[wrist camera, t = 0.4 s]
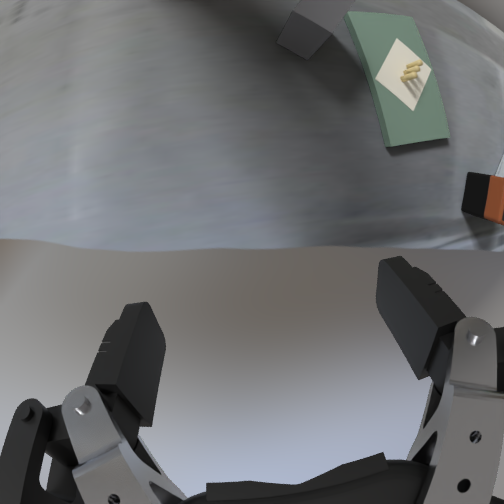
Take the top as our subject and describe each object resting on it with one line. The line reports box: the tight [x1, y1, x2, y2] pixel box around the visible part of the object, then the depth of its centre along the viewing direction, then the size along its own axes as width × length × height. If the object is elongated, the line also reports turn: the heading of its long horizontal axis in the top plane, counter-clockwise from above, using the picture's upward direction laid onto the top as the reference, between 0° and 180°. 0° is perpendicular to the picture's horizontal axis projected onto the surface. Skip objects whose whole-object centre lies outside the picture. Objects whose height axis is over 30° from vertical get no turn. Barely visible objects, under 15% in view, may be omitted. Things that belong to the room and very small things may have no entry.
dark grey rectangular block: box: [276, 0, 355, 60], centre depth 24 cm, size 6×4×9 cm
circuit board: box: [344, 11, 450, 147], centre depth 29 cm, size 20×12×4 cm, turn 16°
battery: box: [462, 172, 504, 225], centre depth 33 cm, size 4×7×10 cm, turn 171°
